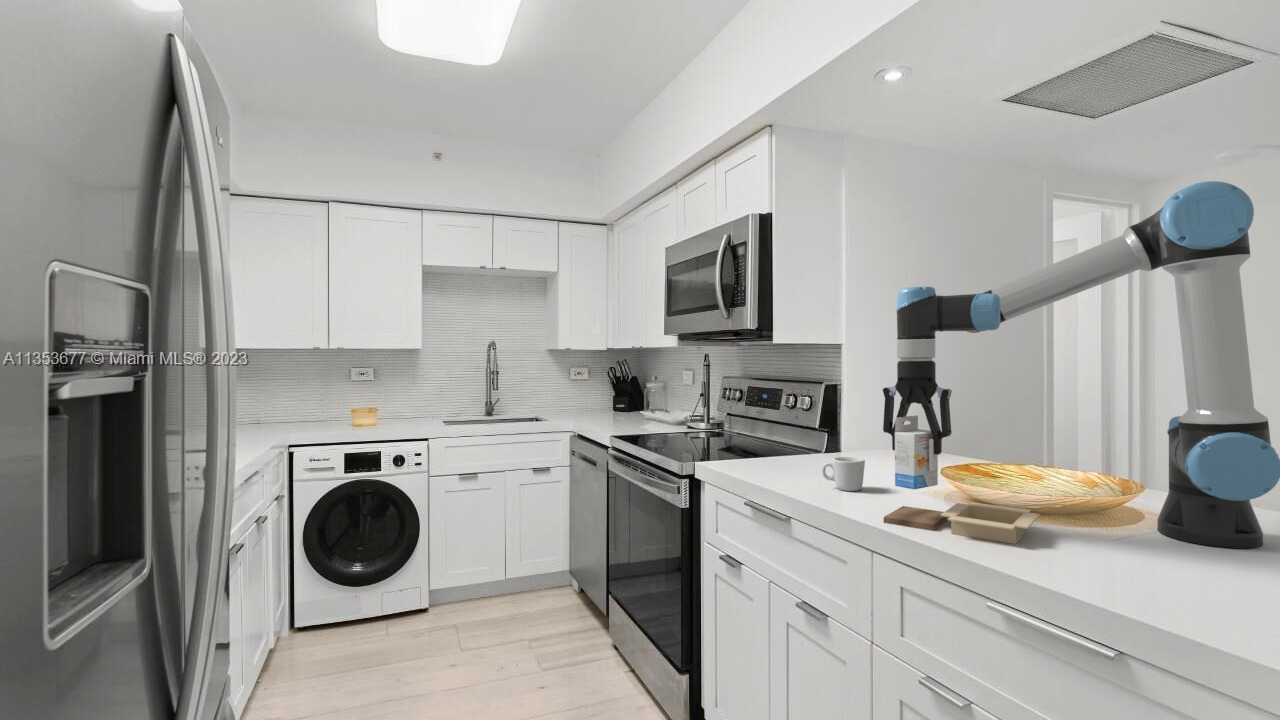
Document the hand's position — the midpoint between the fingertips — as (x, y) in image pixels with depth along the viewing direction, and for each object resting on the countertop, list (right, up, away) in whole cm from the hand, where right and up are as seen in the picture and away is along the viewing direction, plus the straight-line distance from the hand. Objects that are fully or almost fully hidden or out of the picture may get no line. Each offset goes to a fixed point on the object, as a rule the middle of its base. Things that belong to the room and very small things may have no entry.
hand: (916, 467), depth 138 cm
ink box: (0, -4, 0) cm, 4 cm away
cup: (-6, -11, +32) cm, 34 cm away
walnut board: (0, -11, 0) cm, 11 cm away
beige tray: (+11, -11, -9) cm, 18 cm away
